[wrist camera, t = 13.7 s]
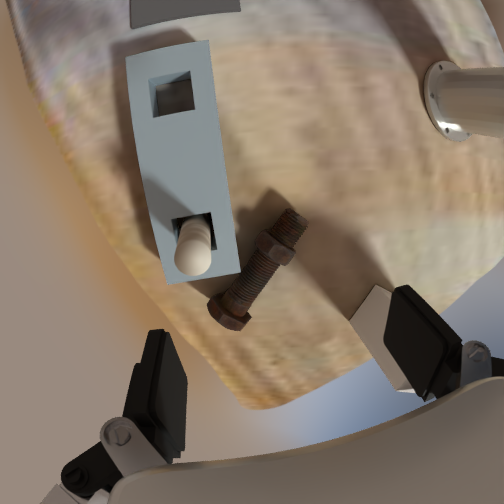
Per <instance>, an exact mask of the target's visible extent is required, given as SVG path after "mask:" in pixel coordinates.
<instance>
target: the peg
mask: <svg viewBox="0 0 504 504" xmlns="http://www.w3.org/2000/svg"><path fill="white" fill-rule="evenodd" d="M174 262H175V265H176V267H177V268H178V270H179V271H180V272H182V273H183V274H186V275H189V276H197V275H201V274H203V273H204V272H206V271H207V270H208V268H209V267H210V264H211V240H210V219H209V217H208V215H207V214H206V213H202V214H196V215H191V216H185V217H184V220H183V223H182V227H181V231H180V235H179V239H178V243H177V247H176V251H175V255H174Z"/></svg>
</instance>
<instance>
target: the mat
mask: <svg viewBox="0 0 504 504" xmlns="http://www.w3.org/2000/svg"><path fill="white" fill-rule="evenodd" d="M240 11H241V8H240V1H239V0H131V24H132V29H136V28H139V27H143V26H147V25H151V24H156V23H160V22H165V21H170V20H175V19H180V18H186V17H192V16H199V15H207V14H216V13H226V12H240Z"/></svg>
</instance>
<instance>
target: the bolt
mask: <svg viewBox="0 0 504 504" xmlns="http://www.w3.org/2000/svg"><path fill="white" fill-rule="evenodd" d="M308 224H309V223H308V221H307V220H305V219H304V218H303V217H301V216H300V215H299V214H297V213H296V212H294V211H293V210H291V209H290V208H289V209H285V211H284V214H282V216H280V219H279V221H277V224H275V226H273V228H274V229H272V231H268V230H263V231H262V232H261V233H260V234H259V235H258V237H257V238H256V240H255V245H256V246H257V247H258V250H256V253H254V254H255V255H253V257H251V260H249V262H248V264H247V265H246V266H245V267H244V269H243V271H241V273H240V275H239V276H238V278H237V279H236V280H235V282H234V283H233V284H232V286H231V287H230V288H229V289H228V290H227V291H226V293H225V294H224V295H223V294H221V293H218V294H217V295H215V296H213V297H211V299H210V300H209V302H208V303H207V307H208V311H209V313H210V315H211V316H212V317H213V318H214V319H215V320H216V321H217V322H218V323H220V324H221V325H222V326H224V327H225V328H227V329H230V330H234V331H241V330H242V329H243V327H244V326H245V325H246V324H247V323H248V321H249V320H250V319H251V318H252V317H251V316H250V314H249V313H248V312H247V311H248V309H249V308H250V307H251V304H252V303H253V301H254V300H255V298H256V297H257V296H258V294H259V293H260V292H261V291H262V289H263V288H264V287H265V285H266V284H267V283H268V280H270V278H271V277H272V276H273V273H275V271H276V270H277V269H278V266H280V264H281V265H284V266H286V265H287V264H288V263H289V262H290V261H291V259H292V258H293V256H294V255H295V254H296V251H295V250H294V249H293V248H292V247H294V244H296V243H295V242H297V240H298V239H299V237H301V235H302V234H303V233H302V232H304V230H306V227H308V226H307V225H308Z"/></svg>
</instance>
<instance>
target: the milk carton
mask: <svg viewBox="0 0 504 504" xmlns="http://www.w3.org/2000/svg"><path fill="white" fill-rule="evenodd" d="M391 295H392V293H391V292H389V291H387V290H386V289H384V288H382V287H380V286H378V285H375V286H374V288H373V289H372V290H371V292H370V293H369V295H368V296H367V298H366V299H365V300H364V302H363V303H362V304H361V306H360V307H359V309H358V310H357V311H356V313H355V314H354V315H353V317H352V318H351V319H350V321H349V323H350V324H351V325H352V327H353V328H354V330H355V331H356V333H357V334H358V335H359V337H360V338H361V340H362V341H363V343H364V344H365V346H366V347H367V349H368V350H369V351H370V353H371V354H372V356H373V357H374V359H375V360H376V362H377V363H378V365H379V366H380V368H381V369H382V371H383V372H384V374H385V375H386V377H387V378H388V379H389V381H390V383H391V384H392V386H393V387H394V389H395V390H396V391H401V392H411V393H416V392H415V391H414V389H413V388H412V386H411V384H410V383H409V381H408V380H407V378H406V377H405V375H404V374H403V372H402V371H401V369H400V367H399V366H398V364H397V363H396V361H395V360H394V358H393V357H392V355H391V354H390V352H389V351H388V349H387V348H386V346H385V345H384V342H383V336H384V331H385V327H386V322H387V317H388V312H389V306H390V301H391Z"/></svg>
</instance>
